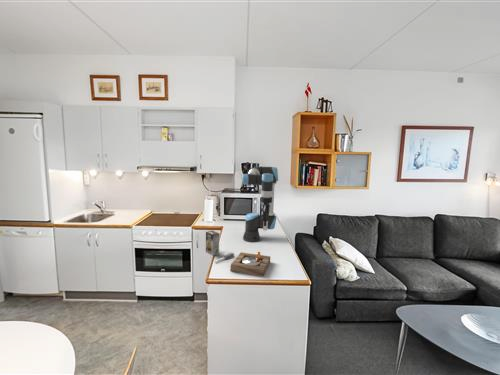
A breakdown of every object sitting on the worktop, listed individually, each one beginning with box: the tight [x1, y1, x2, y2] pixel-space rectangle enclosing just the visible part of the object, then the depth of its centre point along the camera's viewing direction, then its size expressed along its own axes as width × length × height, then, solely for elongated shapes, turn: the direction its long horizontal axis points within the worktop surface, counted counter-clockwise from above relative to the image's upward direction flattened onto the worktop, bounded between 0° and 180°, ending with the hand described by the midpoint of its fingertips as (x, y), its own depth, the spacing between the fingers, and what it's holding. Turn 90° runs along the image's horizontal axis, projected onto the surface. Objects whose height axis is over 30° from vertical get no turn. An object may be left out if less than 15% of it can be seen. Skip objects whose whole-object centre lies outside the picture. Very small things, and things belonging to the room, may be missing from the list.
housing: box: [230, 251, 271, 277], centre depth 174 cm, size 22×22×5 cm
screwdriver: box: [214, 252, 235, 263], centre depth 184 cm, size 17×3×2 cm, turn 139°
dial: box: [242, 251, 261, 266], centre depth 173 cm, size 13×13×8 cm
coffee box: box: [205, 230, 220, 256], centre depth 193 cm, size 9×6×16 cm
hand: (265, 230), depth 176 cm, fingers closed
